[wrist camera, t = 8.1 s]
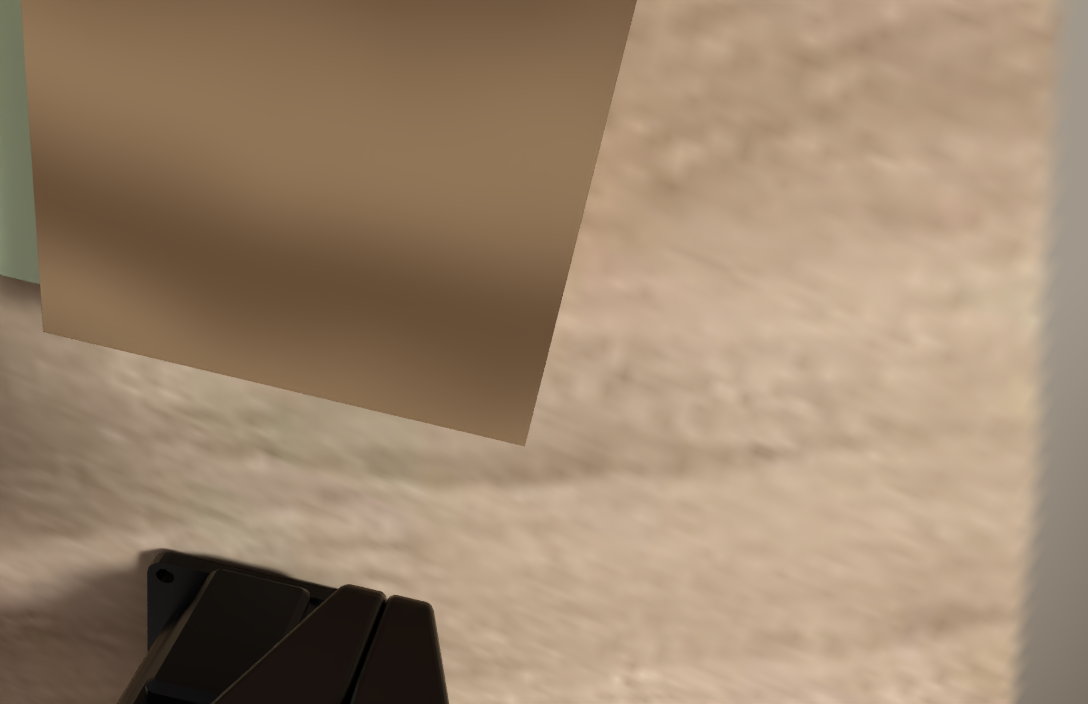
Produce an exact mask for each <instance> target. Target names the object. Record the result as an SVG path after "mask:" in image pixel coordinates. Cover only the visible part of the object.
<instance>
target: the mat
mask: <svg viewBox="0 0 1088 704" xmlns="http://www.w3.org/2000/svg"><path fill="white" fill-rule="evenodd" d="M0 275H3V276H7V277H11V278H15V279H19V280H24V281H28V282H32V283H36V284H40V277H39V262H38V247H37V232H36V217H35V203H34V188H33V173H32V158H31V143H30V128H29V114H28V99H27V84H26V69H25V54H24V39H23V25H22V10H21V0H0Z"/></svg>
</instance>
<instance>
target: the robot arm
mask: <svg viewBox="0 0 1088 704" xmlns="http://www.w3.org/2000/svg"><path fill="white" fill-rule="evenodd" d="M165 569H166V570H168V571H170V572H168V571H166V570H165ZM147 587H148V653H147V655H146V657H145V658H144V660H143V662H142V663H141V665H140V666H139V668H138V670H137V671H136V673H135V675H134V676H133V678H132V680H131V681H130V683H129V685H128V686H127V688H126V689H125V691H124V693H123V694H122V696H121V698H120V699H119V701H118V703H117V704H449V700H448V694H447V688H446V682H445V676H444V670H443V664H442V658H441V652H440V646H439V639H438V633H437V627H436V621H435V615H434V610H433V608H432V606H431V605H430V604H429V603H427V602H424V601H420V600H415V599H411V598H407V597H403V596H398V595H393V596H390V597H389V598H388V600H387V598H386V596H385V594H384V593H383V592H381V591H377V590H372V589H368V588H364V587H360V586H355V585H351V584H347V585H343V586H341V587H340V588H339V589H337V590H336V591H331V590H327V589H323V588H318V587H314V586H310V585H305V584H301V583H297V582H293V581H288V580H284V579H280V578H276V577H271V576H267V575H263V574H259V573H254V572H250V571H246V570H241V569H237V568H233V567H229V566H224V565H220V564H216V563H212V562H207V561H203V560H199V559H195V558H190V557H186V556H182V555H177V554H173V553H161V554H159V555H158V556H156V557H155V559H154V560H153V562H152V563H151V565H150V566H149V568H148V572H147Z"/></svg>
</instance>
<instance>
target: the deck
mask: <svg viewBox="0 0 1088 704" xmlns="http://www.w3.org/2000/svg"><path fill="white" fill-rule="evenodd" d="M636 1H637V0H21V10H22V25H23V39H24V54H25V69H26V84H27V99H28V114H29V128H30V143H31V158H32V173H33V188H34V203H35V217H36V232H37V247H38V262H39V277H40V292H41V306H42V321H43V332H46V333H50V334H54V335H58V336H63V337H67V338H71V339H75V340H80V341H84V342H88V343H92V344H96V345H101V346H105V347H109V348H113V349H117V350H122V351H126V352H130V353H134V354H138V355H143V356H147V357H151V358H155V359H160V360H164V361H168V362H172V363H176V364H181V365H185V366H189V367H193V368H197V369H202V370H206V371H210V372H214V373H219V374H223V375H227V376H231V377H235V378H240V379H244V380H248V381H252V382H256V383H261V384H265V385H269V386H273V387H277V388H282V389H286V390H290V391H294V392H299V393H303V394H307V395H311V396H315V397H320V398H324V399H328V400H332V401H336V402H341V403H345V404H349V405H353V406H357V407H362V408H366V409H370V410H374V411H379V412H383V413H387V414H391V415H395V416H400V417H404V418H408V419H412V420H416V421H421V422H425V423H429V424H433V425H438V426H442V427H446V428H450V429H454V430H459V431H463V432H467V433H471V434H475V435H480V436H484V437H488V438H492V439H496V440H501V441H505V442H509V443H513V444H518V445H522V446H525V443H526V439H527V435H528V431H529V427H530V423H531V419H532V415H533V411H534V407H535V403H536V399H537V395H538V391H539V387H540V383H541V380H542V376H543V372H544V368H545V364H546V360H547V356H548V352H549V348H550V344H551V340H552V336H553V332H554V328H555V324H556V320H557V316H558V312H559V308H560V304H561V300H562V296H563V292H564V288H565V284H566V280H567V276H568V272H569V268H570V264H571V260H572V256H573V252H574V248H575V244H576V240H577V236H578V232H579V228H580V224H581V220H582V216H583V212H584V208H585V204H586V200H587V196H588V192H589V188H590V184H591V180H592V176H593V172H594V168H595V164H596V161H597V157H598V153H599V149H600V145H601V141H602V137H603V133H604V129H605V125H606V121H607V117H608V113H609V109H610V105H611V101H612V97H613V93H614V89H615V85H616V81H617V77H618V73H619V69H620V65H621V61H622V57H623V53H624V49H625V45H626V41H627V37H628V33H629V29H630V25H631V21H632V17H633V13H634V9H635V5H636Z"/></svg>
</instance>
